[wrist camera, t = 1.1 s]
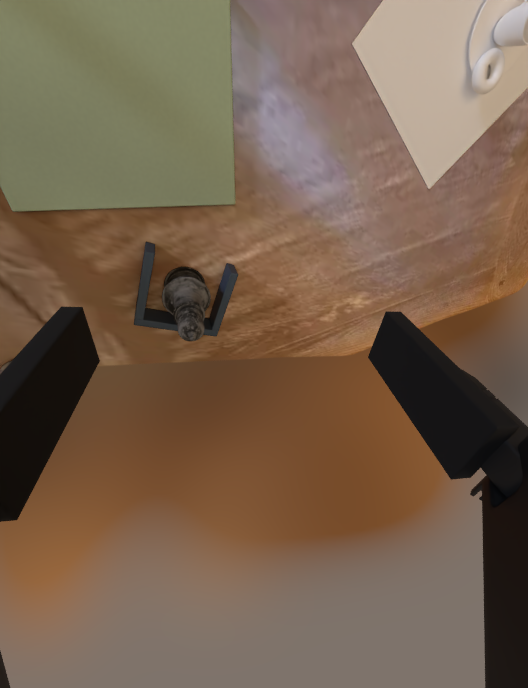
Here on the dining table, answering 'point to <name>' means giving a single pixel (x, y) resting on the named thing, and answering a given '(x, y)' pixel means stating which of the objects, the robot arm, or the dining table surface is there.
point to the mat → (116, 104)
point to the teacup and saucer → (506, 35)
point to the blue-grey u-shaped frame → (166, 318)
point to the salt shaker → (186, 301)
